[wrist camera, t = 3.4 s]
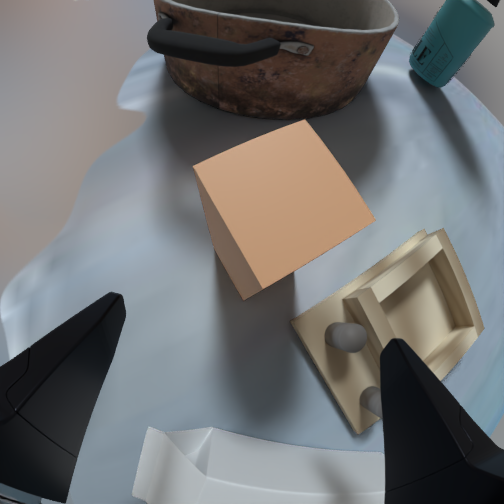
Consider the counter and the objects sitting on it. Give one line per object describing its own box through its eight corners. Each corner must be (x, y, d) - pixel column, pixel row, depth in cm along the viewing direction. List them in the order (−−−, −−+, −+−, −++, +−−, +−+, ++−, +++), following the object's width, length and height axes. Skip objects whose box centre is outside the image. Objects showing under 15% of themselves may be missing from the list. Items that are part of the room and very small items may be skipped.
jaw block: (243, 300, 19) (263, 288, 7) (214, 249, 20) (192, 165, 8) (294, 271, 20) (375, 220, 8) (264, 222, 20) (305, 119, 9)
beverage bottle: (447, 95, 27) (518, 12, 7) (421, 94, 26) (499, -6, 6) (421, 63, 28) (479, -22, 8) (393, 60, 27) (453, -40, 7)
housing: (353, 430, 18) (375, 449, 14) (289, 321, 19) (304, 324, 15) (462, 331, 20) (490, 331, 16) (417, 231, 21) (445, 218, 17)
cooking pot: (322, 197, 21) (385, 116, 11) (103, 113, 22) (63, 36, 11) (374, 39, 28) (400, -11, 17) (237, -6, 28) (240, -58, 18)
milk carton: (426, 485, 10) (130, 450, 10) (379, 548, 9) (117, 521, 9) (382, 451, 17) (161, 408, 17) (349, 507, 16) (143, 473, 16)
